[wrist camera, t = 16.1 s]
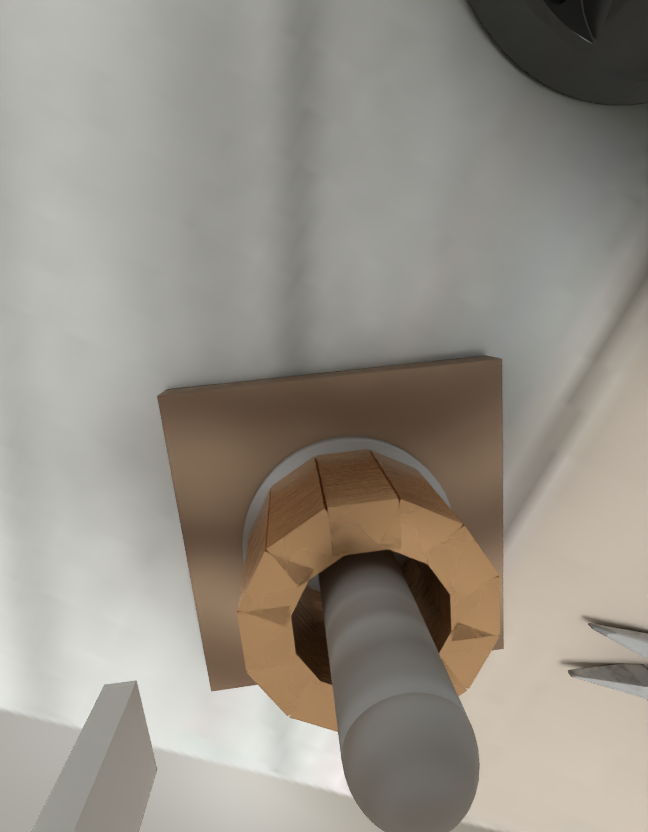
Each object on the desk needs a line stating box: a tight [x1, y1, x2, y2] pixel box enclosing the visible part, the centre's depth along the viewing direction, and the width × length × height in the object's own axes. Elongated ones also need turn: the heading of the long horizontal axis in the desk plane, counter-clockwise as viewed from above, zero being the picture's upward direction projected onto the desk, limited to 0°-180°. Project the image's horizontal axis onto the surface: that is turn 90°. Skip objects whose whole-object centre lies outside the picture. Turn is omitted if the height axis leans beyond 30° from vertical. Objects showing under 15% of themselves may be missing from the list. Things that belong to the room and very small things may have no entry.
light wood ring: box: [237, 449, 500, 732], centre depth 17 cm, size 8×8×5 cm
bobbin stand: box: [157, 356, 504, 832], centre depth 15 cm, size 14×14×13 cm
